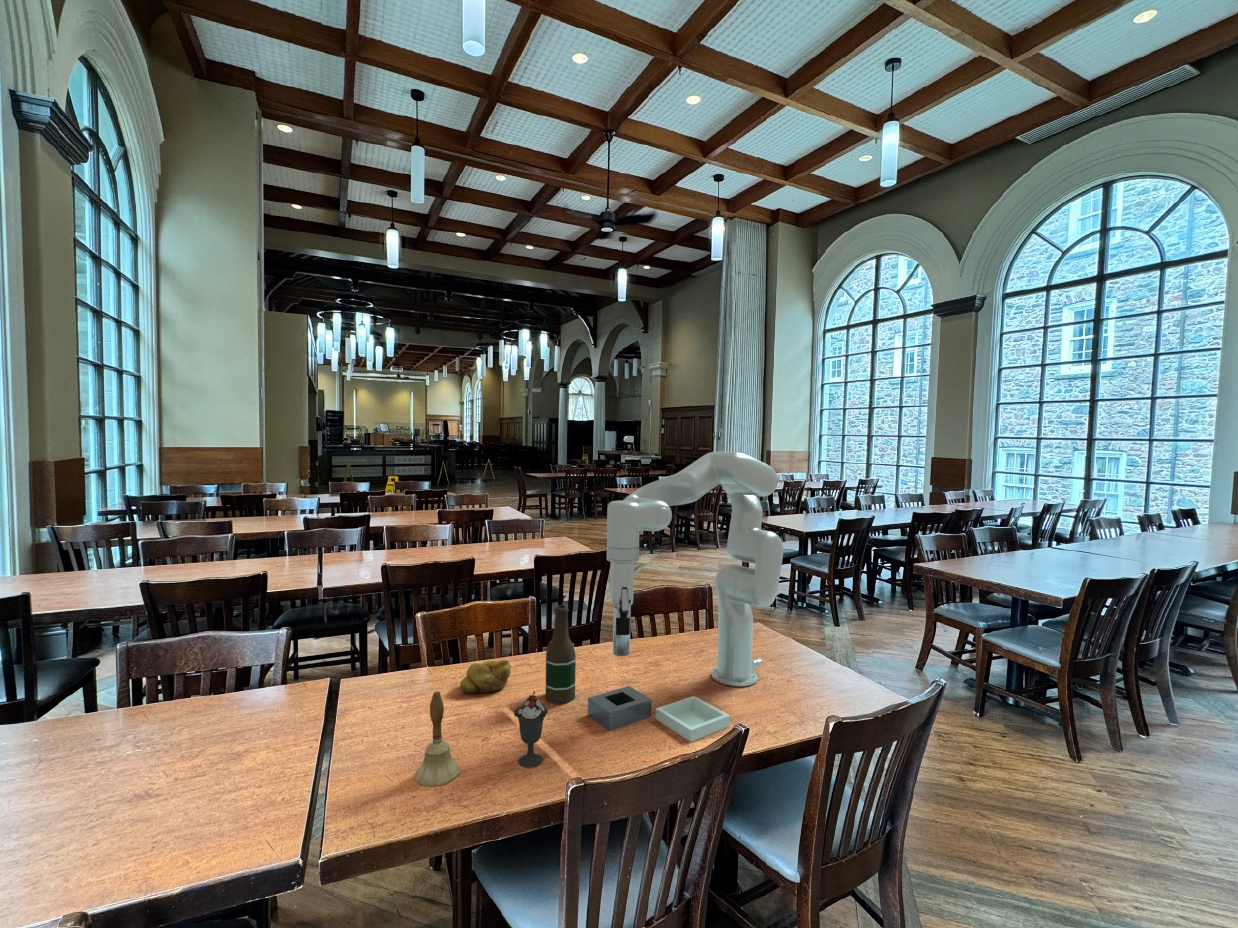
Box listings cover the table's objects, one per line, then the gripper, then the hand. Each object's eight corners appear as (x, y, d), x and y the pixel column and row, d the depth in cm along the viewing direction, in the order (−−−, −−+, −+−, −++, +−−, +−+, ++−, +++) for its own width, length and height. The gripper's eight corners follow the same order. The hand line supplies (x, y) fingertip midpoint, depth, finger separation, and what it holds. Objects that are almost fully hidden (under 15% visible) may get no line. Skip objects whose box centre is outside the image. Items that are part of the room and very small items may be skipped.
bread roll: (461, 699, 139) (461, 668, 139) (457, 684, 148) (457, 655, 148) (512, 692, 144) (512, 661, 144) (505, 677, 153) (505, 649, 153)
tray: (693, 709, 135) (693, 695, 135) (729, 730, 126) (730, 715, 126) (655, 723, 128) (655, 708, 128) (690, 746, 119) (691, 730, 119)
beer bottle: (570, 709, 134) (571, 612, 134) (540, 706, 136) (541, 609, 135) (579, 696, 142) (580, 603, 141) (550, 692, 143) (551, 601, 143)
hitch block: (628, 705, 137) (629, 685, 137) (651, 720, 130) (651, 699, 130) (587, 718, 130) (588, 697, 130) (609, 735, 123) (609, 712, 123)
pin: (612, 649, 131) (612, 599, 131) (628, 649, 132) (629, 599, 131) (613, 656, 127) (614, 604, 127) (630, 655, 128) (631, 604, 127)
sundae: (532, 773, 108) (533, 697, 107) (507, 763, 111) (507, 689, 111) (553, 758, 113) (554, 685, 113) (529, 748, 117) (529, 678, 116)
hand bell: (422, 791, 101) (422, 706, 101) (409, 770, 108) (410, 689, 108) (465, 776, 106) (466, 695, 106) (451, 757, 113) (451, 680, 113)
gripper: (604, 547, 137) (603, 620, 137) (609, 561, 120) (608, 644, 121) (634, 547, 138) (633, 620, 138) (643, 560, 121) (642, 643, 121)
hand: (621, 630), depth 129 cm, fingers closed on pin, 4 cm apart
